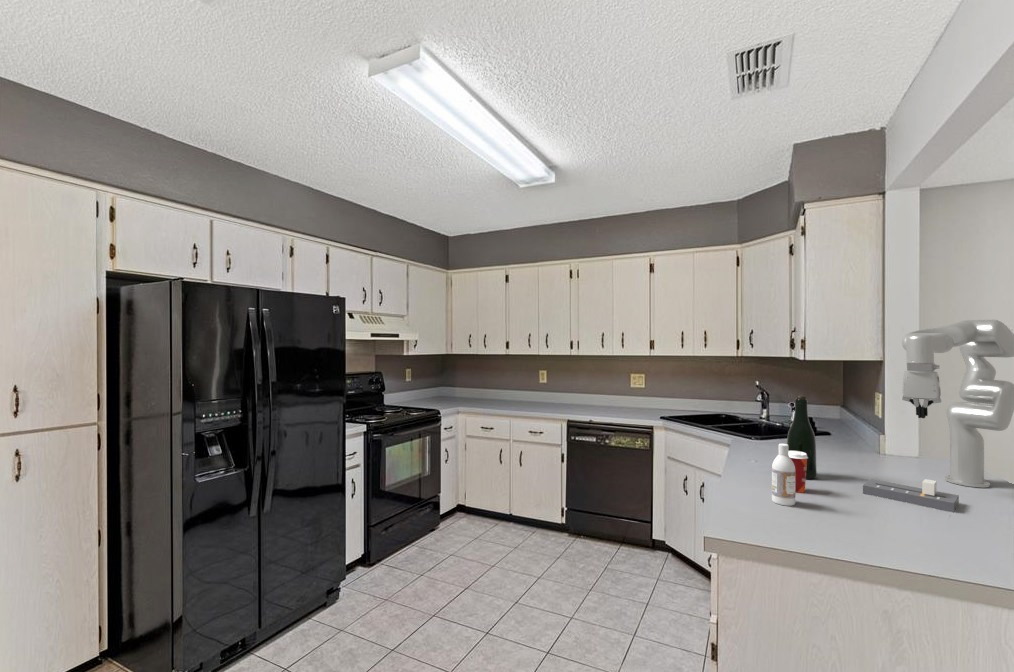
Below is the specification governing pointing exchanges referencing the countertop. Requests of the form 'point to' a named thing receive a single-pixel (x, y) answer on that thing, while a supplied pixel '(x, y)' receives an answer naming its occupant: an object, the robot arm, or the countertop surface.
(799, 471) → the paper cup
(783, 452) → the bath foam
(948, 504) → the fader console
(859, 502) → the countertop surface
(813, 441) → the green wine bottle
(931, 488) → the fader knob
